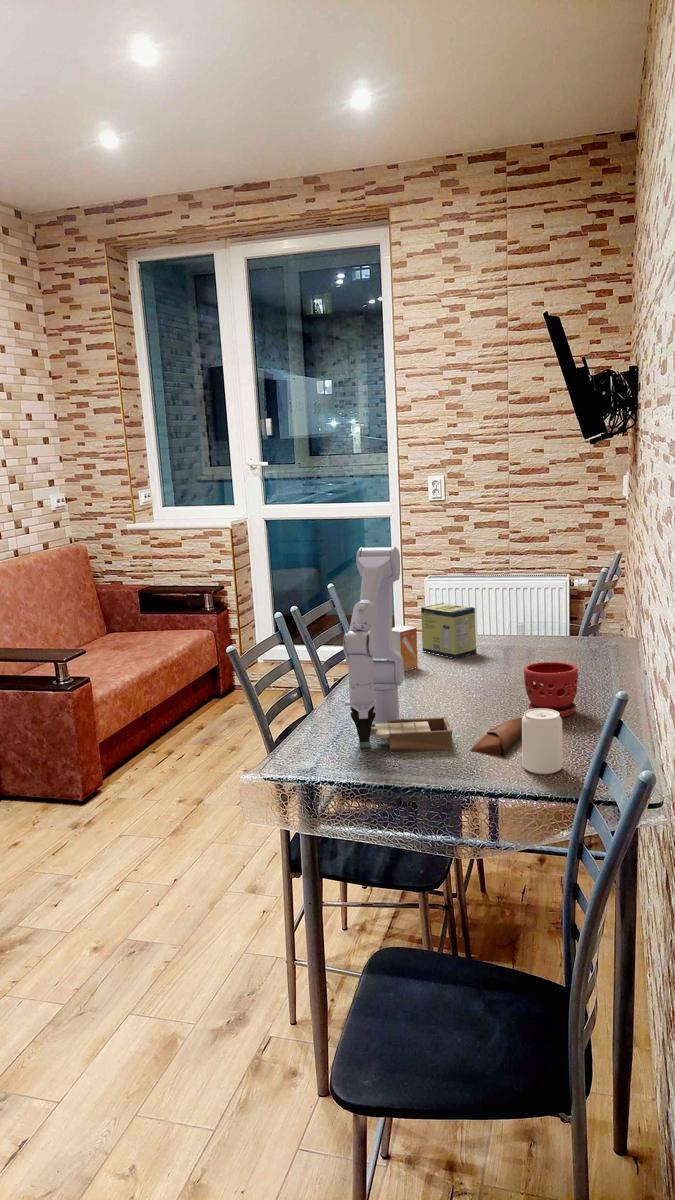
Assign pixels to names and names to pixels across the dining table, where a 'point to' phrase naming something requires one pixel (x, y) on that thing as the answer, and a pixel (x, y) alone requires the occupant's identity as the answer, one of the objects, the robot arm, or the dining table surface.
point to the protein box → (448, 630)
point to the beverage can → (542, 741)
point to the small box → (405, 645)
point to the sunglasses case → (500, 738)
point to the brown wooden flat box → (422, 737)
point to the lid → (395, 729)
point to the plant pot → (552, 686)
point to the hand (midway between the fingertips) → (364, 738)
